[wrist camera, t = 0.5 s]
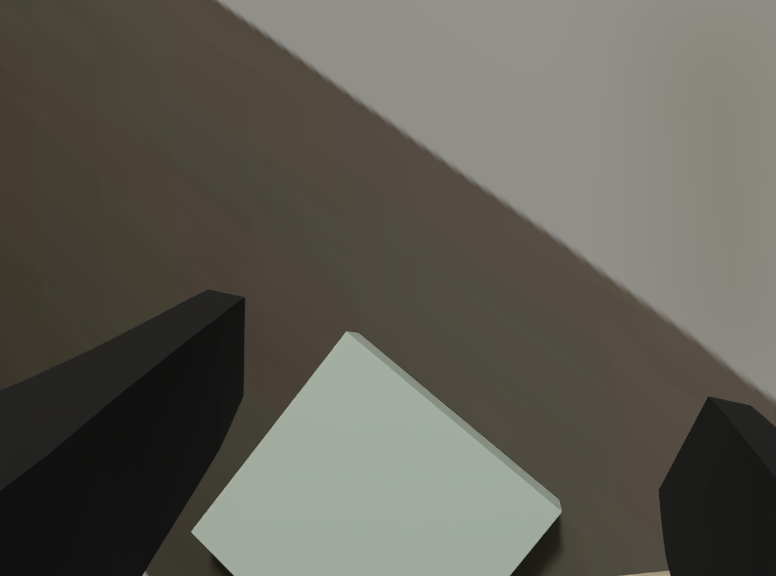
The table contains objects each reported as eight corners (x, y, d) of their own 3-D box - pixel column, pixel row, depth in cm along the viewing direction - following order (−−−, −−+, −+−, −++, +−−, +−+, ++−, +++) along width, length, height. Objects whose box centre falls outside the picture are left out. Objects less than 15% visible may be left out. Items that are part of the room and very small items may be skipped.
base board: (559, 500, 32) (561, 511, 30) (394, 701, 33) (384, 729, 31) (358, 333, 36) (346, 331, 33) (213, 520, 36) (191, 531, 34)
